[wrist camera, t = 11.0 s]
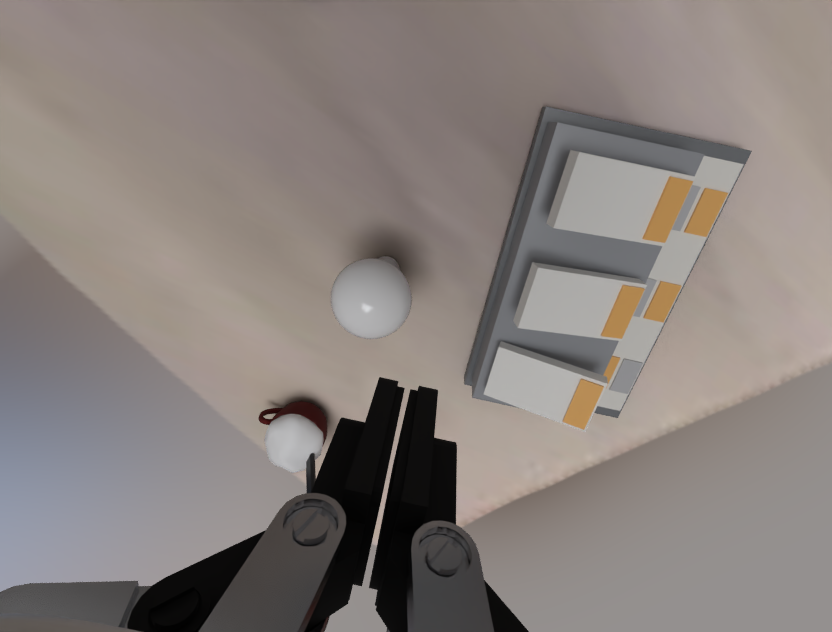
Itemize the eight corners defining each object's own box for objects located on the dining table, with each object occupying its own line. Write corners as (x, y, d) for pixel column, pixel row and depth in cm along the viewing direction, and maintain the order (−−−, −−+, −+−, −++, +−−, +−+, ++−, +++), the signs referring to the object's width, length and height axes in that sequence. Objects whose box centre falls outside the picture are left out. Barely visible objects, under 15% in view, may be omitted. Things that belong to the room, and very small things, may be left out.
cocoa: (265, 404, 50) (203, 482, 39) (298, 376, 47) (242, 451, 37) (323, 456, 52) (280, 544, 41) (358, 432, 49) (322, 518, 39)
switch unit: (542, 106, 34) (555, 105, 30) (740, 149, 34) (783, 154, 29) (464, 376, 45) (464, 405, 41) (612, 408, 45) (629, 441, 41)
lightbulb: (371, 222, 39) (341, 257, 29) (432, 255, 40) (422, 301, 30) (343, 279, 42) (307, 329, 32) (401, 309, 43) (383, 367, 33)
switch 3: (500, 341, 37) (498, 347, 36) (606, 376, 35) (607, 385, 34) (486, 387, 39) (482, 395, 38) (585, 424, 37) (585, 433, 36)
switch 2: (532, 262, 32) (539, 268, 31) (638, 278, 34) (649, 285, 32) (513, 320, 34) (518, 329, 33) (613, 333, 36) (622, 342, 35)
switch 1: (570, 149, 28) (580, 152, 27) (683, 173, 30) (698, 177, 29) (546, 223, 31) (554, 229, 29) (653, 241, 33) (665, 247, 31)
